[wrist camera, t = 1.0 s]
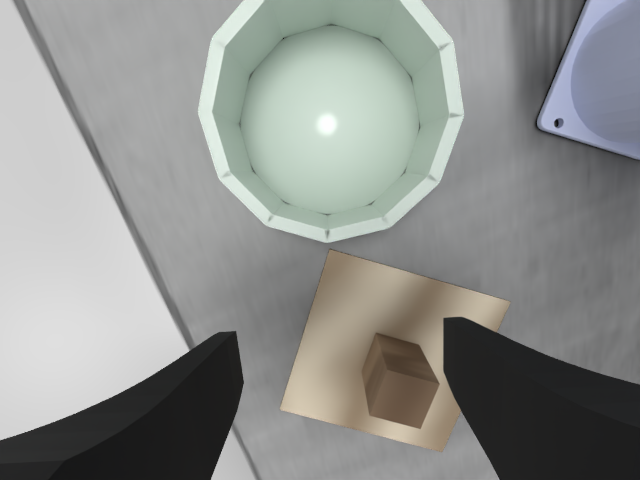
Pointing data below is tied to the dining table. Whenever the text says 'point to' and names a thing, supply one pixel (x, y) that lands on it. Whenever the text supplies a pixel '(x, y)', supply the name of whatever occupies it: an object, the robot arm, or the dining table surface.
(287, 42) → the celadon bowl
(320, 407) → the birch lid
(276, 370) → the dining table surface
